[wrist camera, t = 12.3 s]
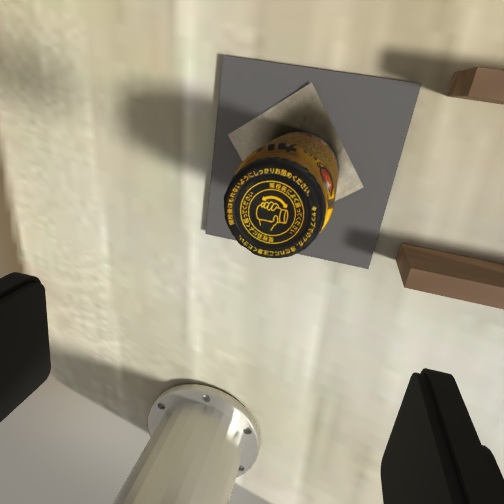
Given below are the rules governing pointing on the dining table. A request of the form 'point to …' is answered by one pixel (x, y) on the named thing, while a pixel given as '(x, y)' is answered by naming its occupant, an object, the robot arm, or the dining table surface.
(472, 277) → the frame
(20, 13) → the dining table surface
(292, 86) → the mat
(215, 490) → the robot arm
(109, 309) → the dining table surface
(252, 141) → the condiment
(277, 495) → the dining table surface
